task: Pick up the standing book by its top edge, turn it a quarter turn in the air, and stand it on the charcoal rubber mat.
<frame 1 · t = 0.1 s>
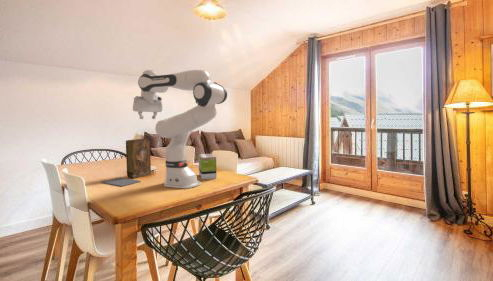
hand: (147, 119, 164), 39 cm above the table, tool pointing down, fingers open, 8 cm apart
mat: (120, 182, 159), on the table
tea box: (207, 177, 174), on the table
book: (140, 176, 176), on the table
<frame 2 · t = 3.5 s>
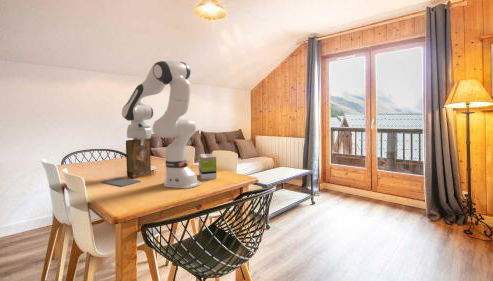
hand: (139, 145, 174), 21 cm above the table, tool pointing down, fingers closed on book, 3 cm apart
book: (140, 176, 176), on the table, touching gripper
everything else where it was.
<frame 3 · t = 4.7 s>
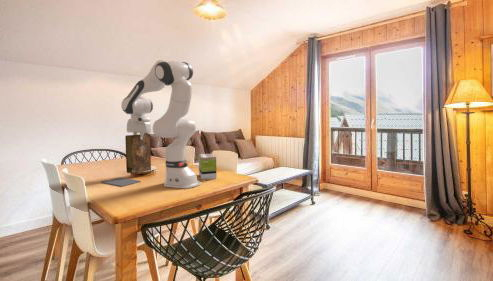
hand: (138, 139, 174), 25 cm above the table, tool pointing down, fingers closed on book, 3 cm apart
book: (139, 171, 176), point 3 cm above the table, touching gripper
everything else where it was.
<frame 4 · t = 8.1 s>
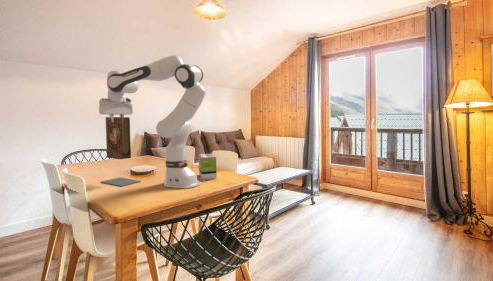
hand: (117, 122, 156), 37 cm above the table, tool pointing down, fingers closed on book, 3 cm apart
book: (118, 158, 158), point 15 cm above the table, touching gripper
everything else where it was.
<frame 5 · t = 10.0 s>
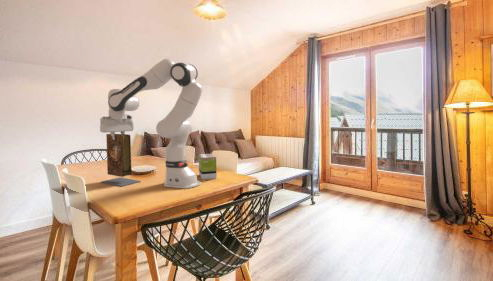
hand: (118, 139, 157), 27 cm above the table, tool pointing down, fingers closed on book, 3 cm apart
book: (118, 175, 159), point 4 cm above the table, touching gripper
everything else where it was.
when the fingers open (23 cm above the table, at t = 11.5 s): book stays where it is, resting on mat.
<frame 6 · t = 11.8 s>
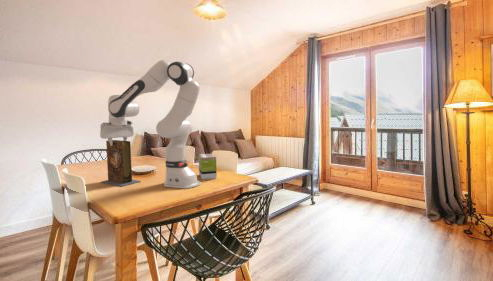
hand: (118, 145, 158), 23 cm above the table, tool pointing down, fingers open, 6 cm apart
book: (119, 181, 159), resting on mat
everything else where it was.
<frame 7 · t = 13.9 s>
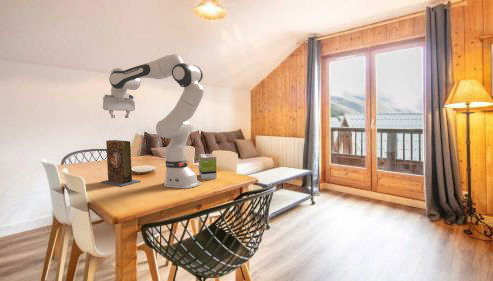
hand: (120, 118, 161), 39 cm above the table, tool pointing down, fingers open, 8 cm apart
nothing on the table moved.
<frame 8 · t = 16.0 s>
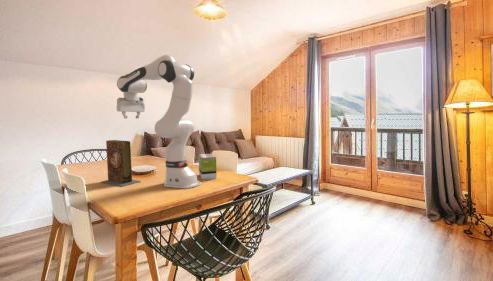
hand: (131, 118, 179), 39 cm above the table, tool pointing down, fingers open, 8 cm apart
nothing on the table moved.
at the end: book inside the target area (0.4 cm from its centre), resting on mat; book tilted 0°; the gripper is holding nothing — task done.
